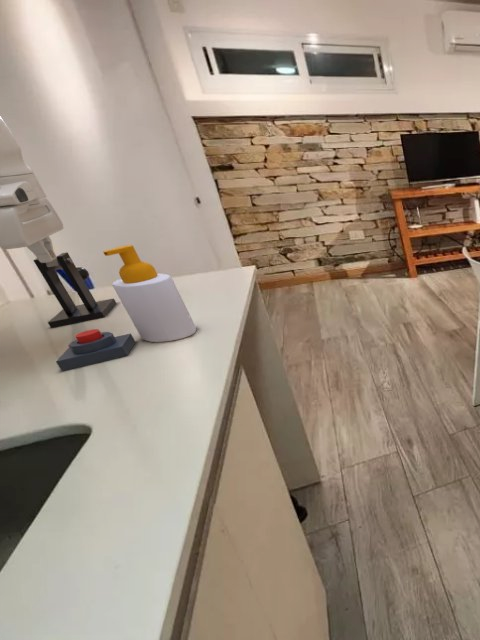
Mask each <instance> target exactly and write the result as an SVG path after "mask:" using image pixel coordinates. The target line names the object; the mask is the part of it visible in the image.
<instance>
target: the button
mask: <svg viewBox="0 0 480 640" xmlns="http://www.w3.org/2000/svg"><path fill="white" fill-rule="evenodd" d="M74 337H75V340H78V342H79V344H83V343H88V342H92V341H95V340H98V339H100V338H102V337H103V336H102V334H101V331H100V329H98V328H94V329H93V328H92V329H89V330H88V329H87V330H85V331H84V330H83V331H81V332H79V333H76V334H75V335H74Z"/></svg>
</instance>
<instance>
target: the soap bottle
mask: <svg viewBox="0 0 480 640" xmlns="http://www.w3.org/2000/svg"><path fill="white" fill-rule="evenodd" d="M102 253H103V255H104V256H106V257H107V256H113V255H117V254H118V255H119V256H120V259H121V260H122V263H123V265H122V266H121V267H120V268H119V272H118V274H119V277H120V278H119V279H117V280H116V279H115V280H114V281H113V282H112V284H111V285H112V287H113V289H114V291H115V293H116V295H117V296H118V298H119V300H120V302H121V304H122V305H123V307H124V309H125V312H126V313H127V314H128V317H129V318H130V320H131V322H132V324H133V326H134V327H135V329H136V331H137V333H138V335H139V336H140V338H141V339H142V340H143V341H146V342H152V343H162V342H172V341H177V340H182V339H184V338H188V337H190V336H192V335H194V334H195V333H196V331H197V326H196V325H195V322H194V321H193V318H192V317H191V314H190V312H189V310H188V308H187V306H186V304H185V301H184V300H183V298H182V296H181V293H180V292H179V290H178V287H177V286H176V283H175V281H174V279H173V278H172V277H171V276H170V275H169V274H166V273H158V272H157V270H156V268H155V267H154V265H153V264H151V263H150V262H144V261H142V260H141V258H140V257H139V255H138V253H137V250H136V249H135V247H134V245H133V244H127V245H122V246H118V247H115V248H114V247H113V248H110V249H107V250H104V251H102Z"/></svg>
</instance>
